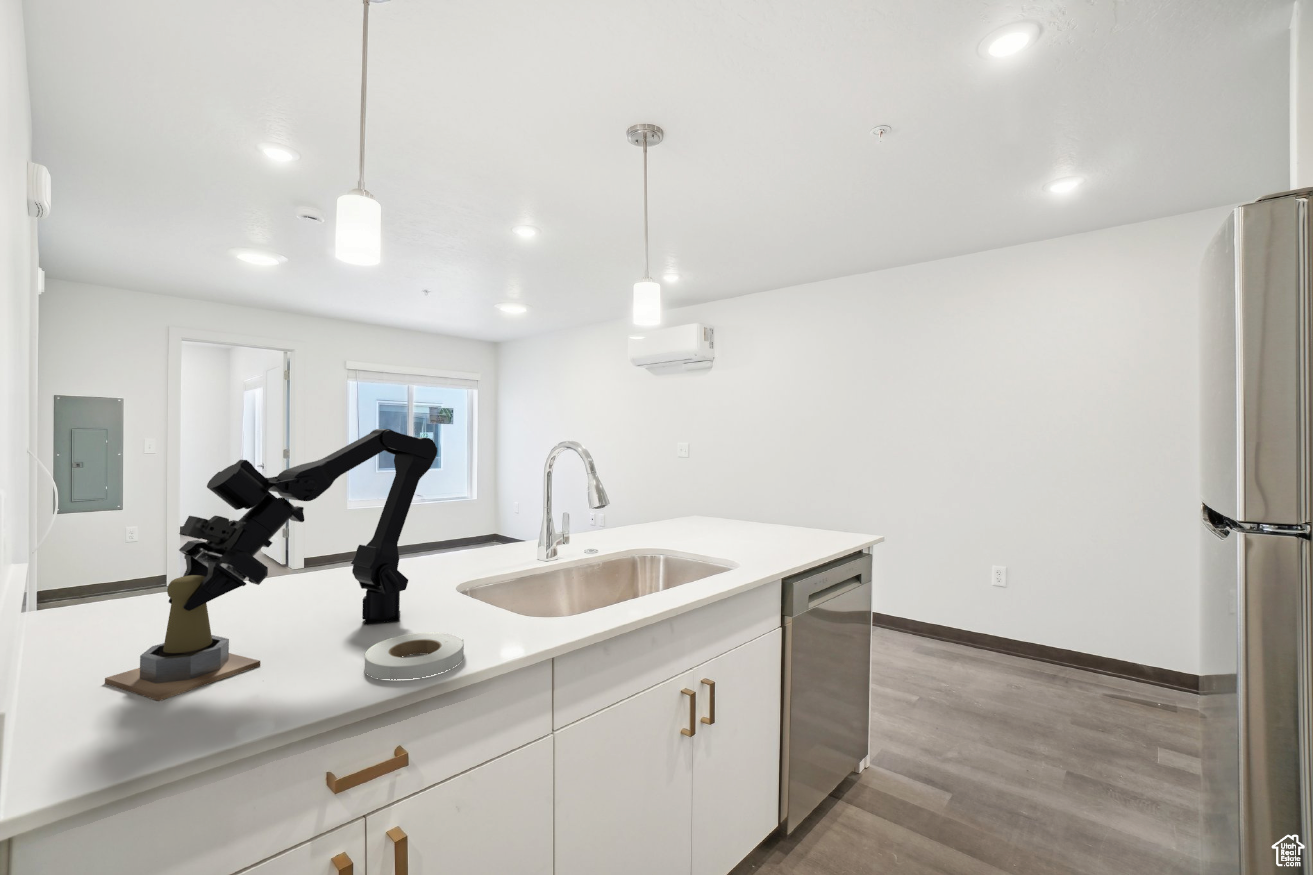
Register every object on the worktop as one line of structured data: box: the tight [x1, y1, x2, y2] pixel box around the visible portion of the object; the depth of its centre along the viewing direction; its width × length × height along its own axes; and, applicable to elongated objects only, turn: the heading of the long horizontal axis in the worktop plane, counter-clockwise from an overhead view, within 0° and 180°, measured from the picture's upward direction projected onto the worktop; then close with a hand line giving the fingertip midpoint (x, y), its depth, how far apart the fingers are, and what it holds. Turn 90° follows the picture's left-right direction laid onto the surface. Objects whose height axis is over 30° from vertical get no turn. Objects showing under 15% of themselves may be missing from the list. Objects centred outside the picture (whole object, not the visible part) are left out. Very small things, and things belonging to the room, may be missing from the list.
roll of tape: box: [364, 631, 465, 680], centre depth 96 cm, size 16×15×3 cm
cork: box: [163, 575, 212, 653], centre depth 90 cm, size 6×6×11 cm
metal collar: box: [139, 634, 230, 684], centre depth 90 cm, size 10×10×4 cm
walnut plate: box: [104, 652, 261, 702], centre depth 90 cm, size 14×14×1 cm
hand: (178, 606), depth 89 cm, fingers closed on cork, 5 cm apart
